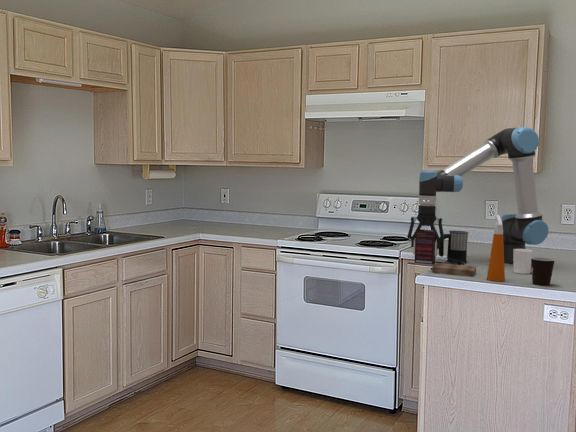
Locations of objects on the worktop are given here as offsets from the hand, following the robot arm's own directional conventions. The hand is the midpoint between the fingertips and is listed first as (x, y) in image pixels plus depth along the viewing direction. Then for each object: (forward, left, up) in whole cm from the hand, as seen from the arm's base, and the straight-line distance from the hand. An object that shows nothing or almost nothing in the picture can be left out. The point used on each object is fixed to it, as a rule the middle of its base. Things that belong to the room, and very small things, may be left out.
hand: (425, 255), depth 270 cm
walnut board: (-14, +7, -5) cm, 17 cm away
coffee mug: (-49, +14, -6) cm, 51 cm away
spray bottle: (-31, +14, -6) cm, 34 cm away
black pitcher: (-12, -18, -6) cm, 23 cm away
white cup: (-41, -8, -6) cm, 42 cm away
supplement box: (0, 0, -5) cm, 5 cm away
